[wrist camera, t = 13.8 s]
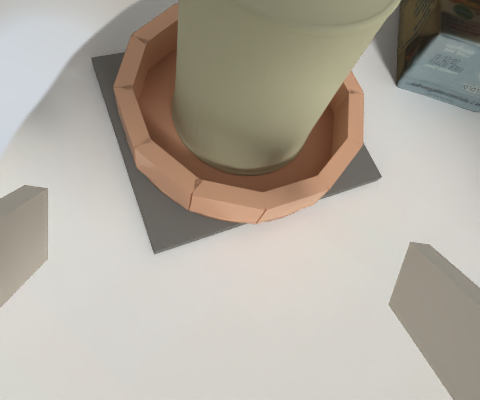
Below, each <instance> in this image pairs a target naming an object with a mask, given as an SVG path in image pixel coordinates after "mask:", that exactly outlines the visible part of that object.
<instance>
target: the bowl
mask: <svg viewBox="0 0 480 400" xmlns="http://www.w3.org/2000/svg"><path fill="white" fill-rule="evenodd" d="M178 4H179V3H177V4H174V5H173V6H171V7H170V8H169V9H167V10H166V11H164V12H163V13H161V14H160V15H159V16H157V17H156V18H154V19H153V20H152V21H150V22H149V23H147V24H146V25H144V26H143V27H142V28H140V29H139V30H137V31H136V32H135V33H133V34H132V36H131V37H130V40H129V43H128V46H127V49H126V52H125V54H124V57H123V60H122V63H121V66H120V69H119V72H118V75H117V78H116V80H115V83H114V86H113V87H114V88H113V89H114V94H115V99H116V104H117V109H118V113H119V116H120V119H121V122H122V125H123V128H124V131H125V134H126V138H127V142H128V145H129V148H130V150H131V153H132V156H133V159H134V162H135V165H136V167H137V169H138V170H140V171H141V172H142V173H143V174H144V175H145V176H146V177H147V178H148V179H149V181H150V182H151V183H152V184H153V185H154V186H155V187H156V188H157V189H158V190H159V191H161V192H162V193H163V194H164V195H165V196H167V197H168V198H170V199H171V200H172V201H174V202H175V203H177V204H179V205H180V206H182V207H184V208H185V209H187V210H189V211H191V212H194V213H197V214H199V215H202V216H204V217H208V218H212V219H215V220H219V221H225V222H232V223H252V224H255V223H256V224H258V223H261V222H267V221H272V220H275V219H279V218H283V217H285V216H288V215H290V214H293V213H295V212H297V211H299V210H300V209H303V208H306V207H309V206H312V205H314V204H315V203H316V202H317V201H318V200H319V199H320V198H321V197H322V196H323V195H324V194H325V193H326V192H327V191H328V190H329V189H330V188H331V187H332V186H333V184H334V183H335V182H336V180H337V179H338V178H339V176H340V175H341V174H342V172H343V171H344V170H345V168H346V167H347V166H348V164H349V163H350V162H351V160H352V159H353V158H354V157H355V155H356V154H357V153H358V151H359V150H360V149H361V147H362V145H363V114H364V93H363V90H362V89H361V87H360V85H359V83H358V82H357V80H356V78H355V76H354V75H353V73H352V71H350V73H349V74H348V76H347V77H346V79H345V80H344V82H343V83H342V85H341V86H340V88H339V89H338V91H337V92H336V94H335V95H334V97H333V98H332V100H331V101H330V103H329V104H328V106H327V107H326V109H325V110H324V112H323V113H322V115H321V116H320V118H319V119H318V121H317V122H316V124H315V125H314V127H313V129H312V130H311V132H310V133H309V135H308V137H307V140H306V143H305V145H304V147H303V148H302V150H301V152H300V153H299V154H298V155H297V156H296V158H295V159H294V160H292V161H291V162H290V163H289V164H287V165H286V166H284V167H282V168H281V169H278V170H276V171H274V172H271V173H268V174H263V175H255V176H241V175H234V174H230V173H226V172H223V171H220V170H217V169H215V168H213V167H211V166H209V165H207V164H206V163H204V162H203V161H201V160H200V159H198V158H197V157H196V156H195V155H194V154H193V153H192V152H190V150H189V149H188V148H187V147H186V146H185V145H184V143H183V142H182V140H181V139H180V137H179V135H178V133H177V131H176V129H175V126H174V123H173V118H172V108H171V107H172V98H173V94H174V91H175V79H176V59H177V33H178Z"/></svg>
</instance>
